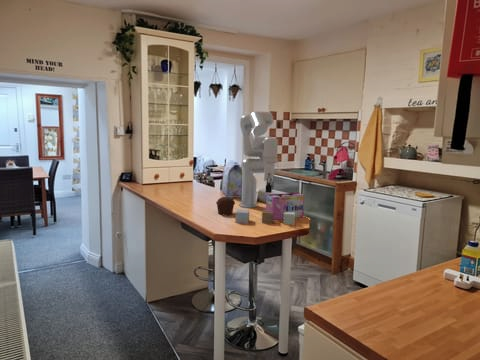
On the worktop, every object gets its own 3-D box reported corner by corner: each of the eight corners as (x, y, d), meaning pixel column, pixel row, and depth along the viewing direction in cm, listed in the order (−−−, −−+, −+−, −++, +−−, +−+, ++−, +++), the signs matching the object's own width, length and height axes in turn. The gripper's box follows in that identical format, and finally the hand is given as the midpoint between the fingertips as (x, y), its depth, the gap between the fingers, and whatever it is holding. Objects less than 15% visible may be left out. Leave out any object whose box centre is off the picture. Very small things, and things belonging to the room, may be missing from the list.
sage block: (283, 221, 205) (283, 211, 204) (294, 222, 205) (294, 211, 204) (283, 224, 199) (284, 213, 198) (294, 225, 199) (295, 214, 198)
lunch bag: (248, 198, 267) (249, 162, 263) (226, 198, 263) (226, 162, 259) (241, 192, 289) (242, 159, 285) (220, 193, 285) (221, 159, 281)
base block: (236, 219, 207) (237, 209, 206) (248, 220, 206) (249, 210, 205) (235, 222, 200) (235, 212, 199) (247, 223, 199) (248, 212, 198)
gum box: (298, 213, 225) (299, 192, 223) (305, 216, 218) (307, 194, 216) (265, 217, 214) (266, 194, 212) (272, 220, 207) (273, 197, 205)
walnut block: (262, 220, 207) (262, 210, 206) (272, 221, 206) (273, 210, 205) (261, 223, 201) (262, 212, 200) (272, 223, 200) (273, 213, 199)
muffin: (222, 216, 212) (222, 199, 210) (212, 212, 221) (212, 196, 219) (238, 214, 219) (239, 198, 217) (228, 210, 228) (228, 194, 226)
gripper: (263, 158, 207) (262, 188, 209) (262, 161, 190) (261, 193, 192) (277, 159, 206) (275, 188, 209) (276, 161, 189) (275, 194, 191)
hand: (268, 191), depth 200 cm, fingers open, 9 cm apart
